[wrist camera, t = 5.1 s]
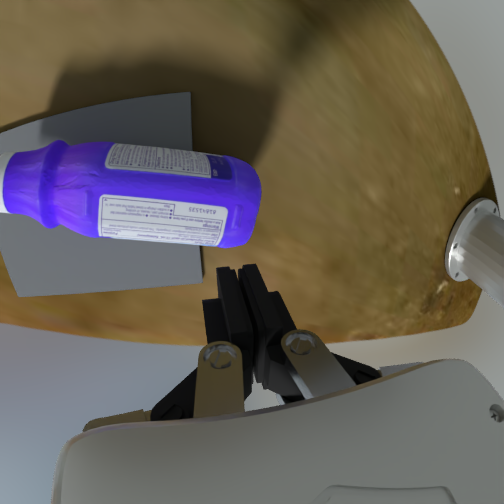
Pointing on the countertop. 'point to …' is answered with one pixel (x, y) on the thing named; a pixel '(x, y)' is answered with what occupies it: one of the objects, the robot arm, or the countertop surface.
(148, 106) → the mat
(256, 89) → the countertop surface
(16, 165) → the bottle
